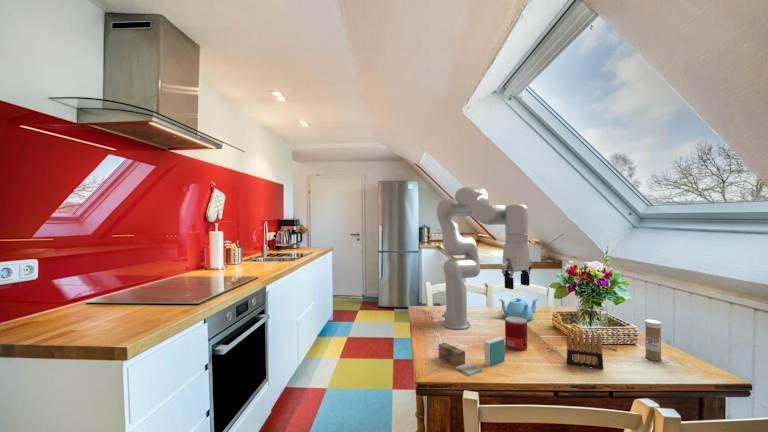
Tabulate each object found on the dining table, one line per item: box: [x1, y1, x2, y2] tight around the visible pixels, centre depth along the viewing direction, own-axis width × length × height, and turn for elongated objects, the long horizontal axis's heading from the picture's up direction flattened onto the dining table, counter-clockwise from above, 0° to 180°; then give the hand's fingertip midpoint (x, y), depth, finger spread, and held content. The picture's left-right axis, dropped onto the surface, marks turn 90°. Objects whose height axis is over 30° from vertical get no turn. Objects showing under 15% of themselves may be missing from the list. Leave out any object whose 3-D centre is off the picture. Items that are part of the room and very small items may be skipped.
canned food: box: [504, 316, 528, 352], centre depth 130 cm, size 8×8×11 cm
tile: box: [484, 336, 506, 367], centre depth 117 cm, size 2×8×8 cm, turn 123°
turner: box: [438, 342, 483, 377], centre depth 115 cm, size 16×6×5 cm, turn 33°
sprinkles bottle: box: [644, 319, 662, 362], centre depth 119 cm, size 5×5×14 cm
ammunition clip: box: [566, 329, 604, 370], centre depth 114 cm, size 11×2×12 cm, turn 69°
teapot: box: [498, 297, 539, 322], centre depth 167 cm, size 15×15×10 cm
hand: (517, 286), depth 119 cm, fingers open, 9 cm apart
